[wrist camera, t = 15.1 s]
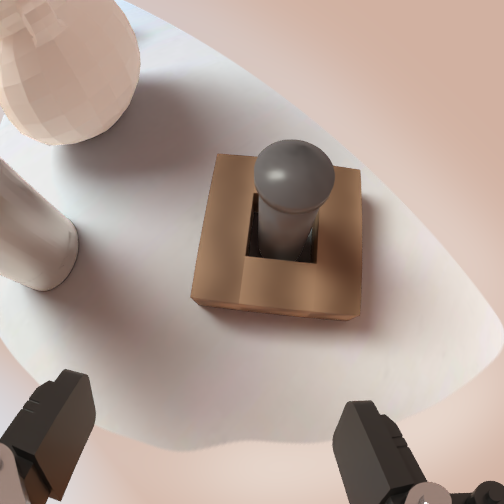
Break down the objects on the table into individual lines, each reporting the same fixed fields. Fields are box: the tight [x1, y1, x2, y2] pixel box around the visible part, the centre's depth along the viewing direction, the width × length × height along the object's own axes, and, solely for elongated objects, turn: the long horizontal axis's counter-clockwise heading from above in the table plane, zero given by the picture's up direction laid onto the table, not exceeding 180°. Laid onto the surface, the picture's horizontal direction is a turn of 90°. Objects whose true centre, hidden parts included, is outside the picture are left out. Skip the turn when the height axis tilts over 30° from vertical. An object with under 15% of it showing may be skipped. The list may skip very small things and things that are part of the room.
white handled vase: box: [0, 0, 140, 146], centre depth 26 cm, size 19×18×25 cm
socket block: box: [190, 154, 362, 321], centre depth 30 cm, size 14×14×4 cm
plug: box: [254, 140, 335, 261], centre depth 25 cm, size 5×5×13 cm
